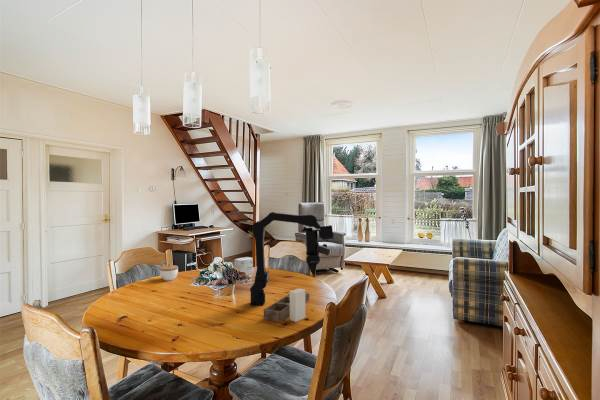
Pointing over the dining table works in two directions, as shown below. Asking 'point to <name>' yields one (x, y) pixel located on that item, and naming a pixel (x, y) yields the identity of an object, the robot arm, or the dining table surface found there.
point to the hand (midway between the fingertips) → (313, 272)
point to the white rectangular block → (297, 304)
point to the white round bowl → (169, 272)
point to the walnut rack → (280, 309)
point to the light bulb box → (244, 264)
